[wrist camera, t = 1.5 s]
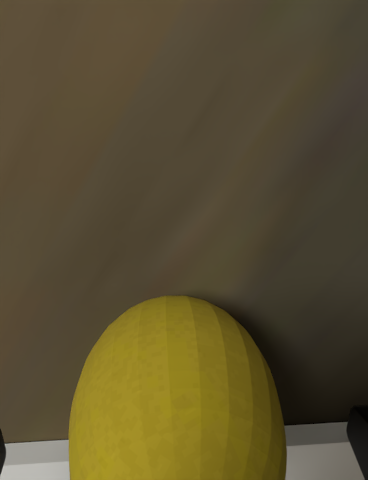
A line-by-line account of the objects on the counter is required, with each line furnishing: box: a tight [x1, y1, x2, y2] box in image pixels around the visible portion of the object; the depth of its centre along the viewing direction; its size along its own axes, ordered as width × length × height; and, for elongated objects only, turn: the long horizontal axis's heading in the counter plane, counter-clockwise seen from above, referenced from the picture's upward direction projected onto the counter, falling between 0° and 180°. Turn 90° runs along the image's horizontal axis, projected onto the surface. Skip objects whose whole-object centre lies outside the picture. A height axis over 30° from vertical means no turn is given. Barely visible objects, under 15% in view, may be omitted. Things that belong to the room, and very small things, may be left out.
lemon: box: [69, 296, 287, 480], centre depth 9 cm, size 6×6×8 cm
